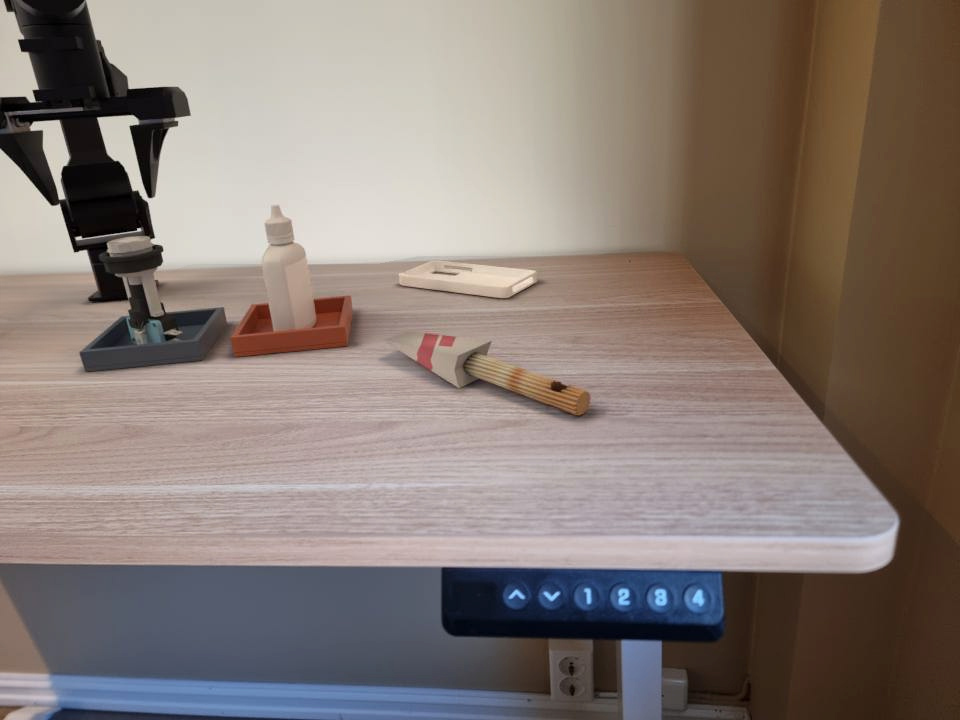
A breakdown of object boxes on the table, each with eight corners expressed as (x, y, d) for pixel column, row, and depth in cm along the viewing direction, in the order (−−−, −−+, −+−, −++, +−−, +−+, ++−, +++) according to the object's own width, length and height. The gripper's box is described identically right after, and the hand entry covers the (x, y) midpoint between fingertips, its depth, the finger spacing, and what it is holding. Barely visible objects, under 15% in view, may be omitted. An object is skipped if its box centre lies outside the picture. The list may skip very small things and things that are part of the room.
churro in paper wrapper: (411, 313, 60) (599, 377, 47) (413, 342, 61) (597, 412, 49) (376, 325, 58) (565, 396, 45) (379, 355, 59) (564, 432, 46)
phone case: (397, 285, 81) (506, 299, 73) (396, 274, 80) (506, 287, 72) (434, 270, 86) (539, 281, 79) (433, 259, 86) (538, 270, 78)
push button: (205, 339, 66) (181, 236, 62) (156, 358, 61) (128, 249, 58) (161, 330, 69) (137, 232, 65) (113, 348, 65) (83, 244, 61)
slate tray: (126, 333, 70) (121, 316, 69) (227, 324, 71) (223, 306, 70) (84, 372, 61) (78, 352, 60) (202, 360, 62) (198, 340, 61)
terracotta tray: (254, 321, 71) (251, 304, 70) (353, 312, 72) (350, 295, 71) (234, 357, 62) (230, 337, 61) (347, 346, 63) (344, 326, 62)
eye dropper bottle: (333, 323, 68) (314, 201, 63) (287, 341, 64) (263, 212, 59) (305, 317, 70) (285, 199, 66) (259, 334, 66) (234, 209, 62)
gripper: (187, 28, 70) (219, 183, 76) (-4, 39, 68) (43, 197, 74) (152, 18, 60) (192, 198, 66) (-73, 31, 58) (-12, 214, 64)
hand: (104, 201), depth 68 cm, fingers open, 9 cm apart
